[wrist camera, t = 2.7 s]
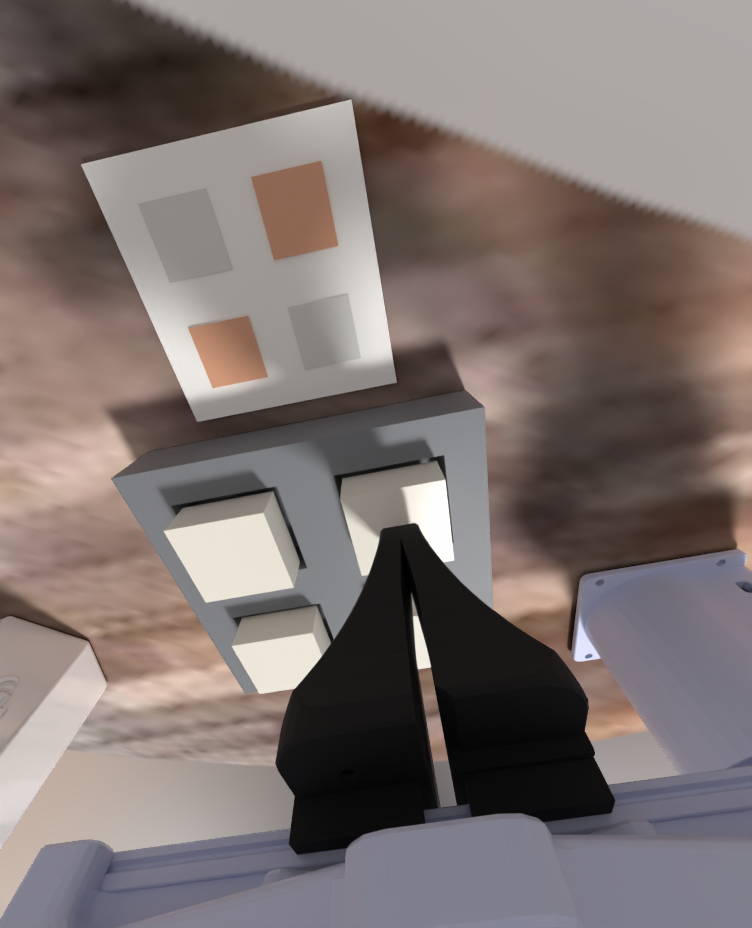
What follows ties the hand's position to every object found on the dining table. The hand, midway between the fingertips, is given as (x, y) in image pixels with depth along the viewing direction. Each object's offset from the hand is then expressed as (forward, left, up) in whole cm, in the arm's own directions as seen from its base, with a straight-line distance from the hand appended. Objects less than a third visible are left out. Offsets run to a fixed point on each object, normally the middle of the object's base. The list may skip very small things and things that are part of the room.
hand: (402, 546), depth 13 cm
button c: (+7, 0, -3) cm, 7 cm away
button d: (+7, +7, -2) cm, 10 cm away
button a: (0, 0, -2) cm, 2 cm away
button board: (+3, +4, -5) cm, 7 cm away
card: (+3, -9, -5) cm, 11 cm away
